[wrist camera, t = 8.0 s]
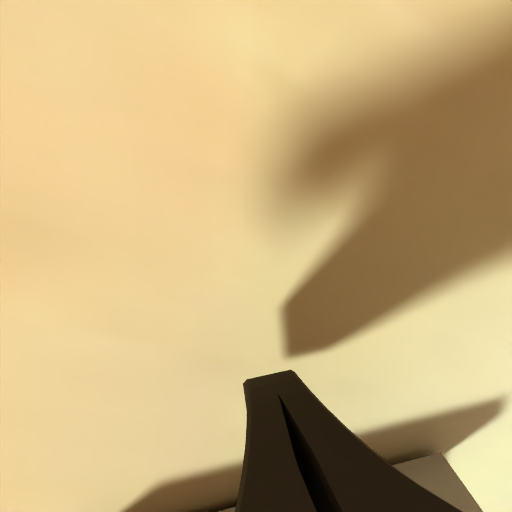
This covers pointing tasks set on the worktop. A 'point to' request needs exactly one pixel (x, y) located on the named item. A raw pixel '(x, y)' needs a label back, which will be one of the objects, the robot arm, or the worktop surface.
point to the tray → (435, 481)
